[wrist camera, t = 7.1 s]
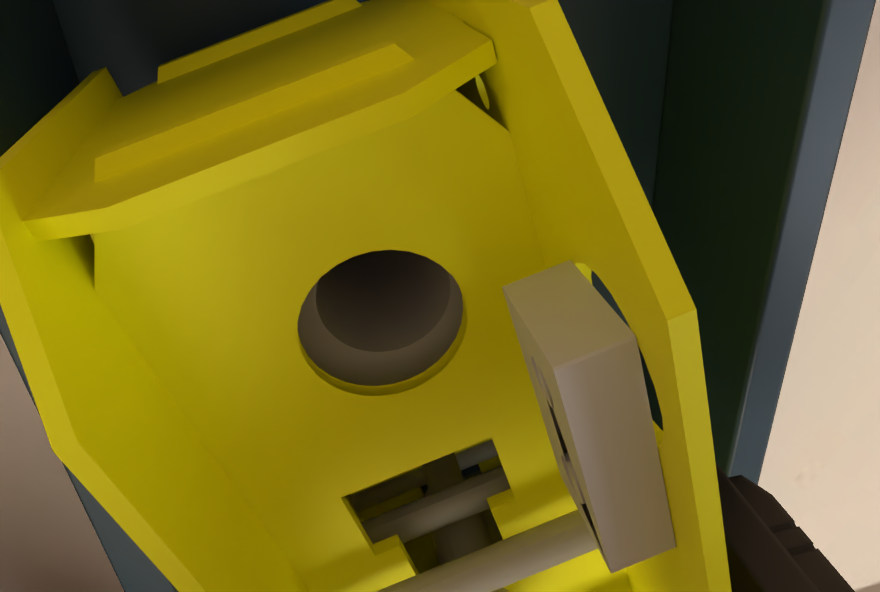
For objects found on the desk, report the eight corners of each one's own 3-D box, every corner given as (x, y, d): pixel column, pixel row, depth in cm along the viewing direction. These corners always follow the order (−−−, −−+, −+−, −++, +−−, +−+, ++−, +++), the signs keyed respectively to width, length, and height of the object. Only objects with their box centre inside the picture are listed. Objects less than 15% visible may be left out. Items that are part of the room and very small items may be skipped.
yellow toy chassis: (602, 546, 19) (799, 923, 12) (415, 622, 19) (501, 1049, 12) (427, -63, 11) (746, -3, 4) (85, 68, 10) (-298, 403, 3)
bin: (251, 677, 20) (246, 847, 17) (-80, -230, 9) (-316, -318, 6) (630, 587, 22) (701, 722, 18) (735, -266, 11) (966, -352, 7)
